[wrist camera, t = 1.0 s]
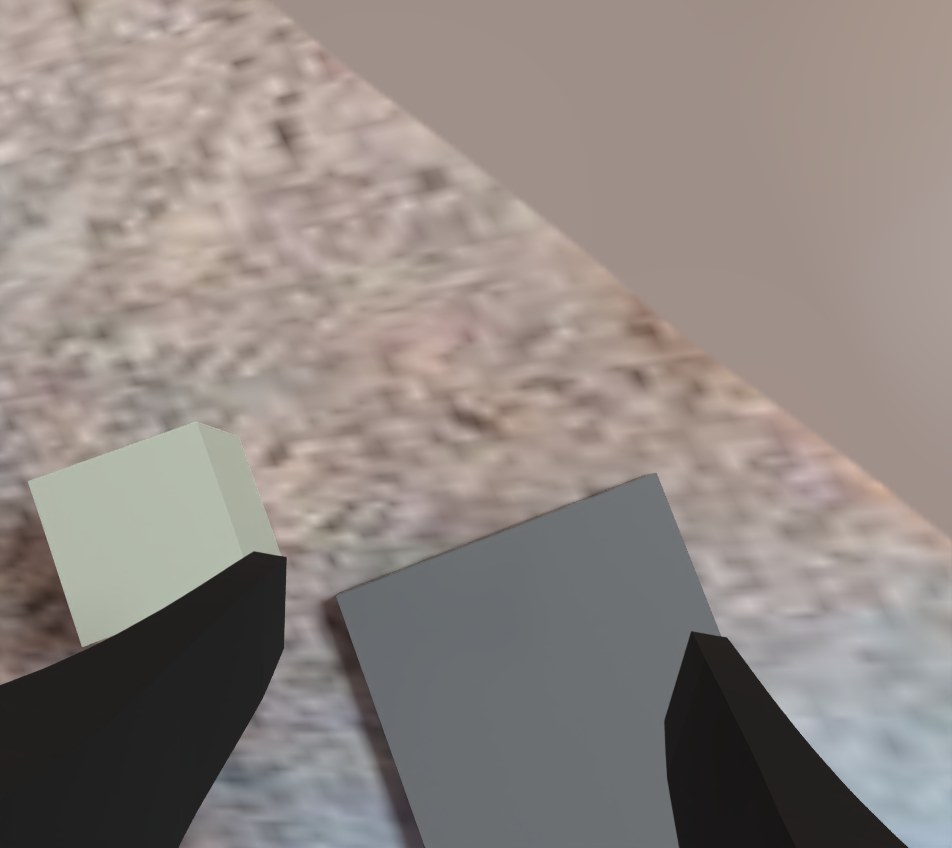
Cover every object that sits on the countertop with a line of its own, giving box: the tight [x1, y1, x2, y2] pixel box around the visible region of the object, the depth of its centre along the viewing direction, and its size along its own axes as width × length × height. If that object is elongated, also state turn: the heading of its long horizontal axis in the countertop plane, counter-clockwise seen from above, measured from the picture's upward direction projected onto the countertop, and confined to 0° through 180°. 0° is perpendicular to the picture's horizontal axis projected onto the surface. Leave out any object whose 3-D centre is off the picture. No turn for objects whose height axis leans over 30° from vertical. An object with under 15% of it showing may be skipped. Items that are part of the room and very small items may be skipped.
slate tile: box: [336, 473, 721, 848], centre depth 26 cm, size 12×12×1 cm
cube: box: [28, 421, 281, 647], centre depth 24 cm, size 5×5×5 cm
